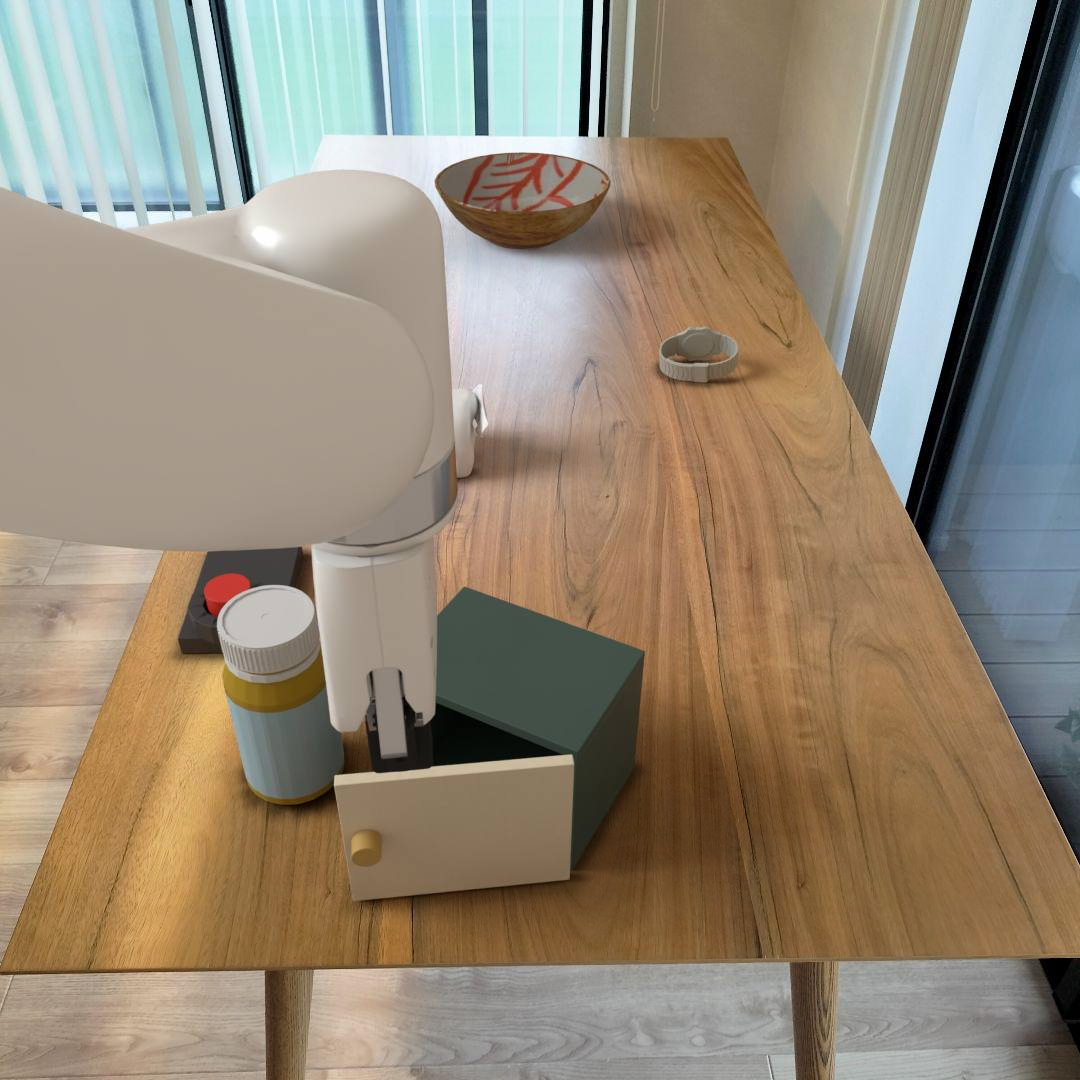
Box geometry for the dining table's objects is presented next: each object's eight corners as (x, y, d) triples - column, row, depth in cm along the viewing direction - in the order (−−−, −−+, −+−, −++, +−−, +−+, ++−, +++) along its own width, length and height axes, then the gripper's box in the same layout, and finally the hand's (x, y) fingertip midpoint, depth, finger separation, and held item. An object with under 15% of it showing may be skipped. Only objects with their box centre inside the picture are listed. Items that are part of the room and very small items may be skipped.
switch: (279, 658, 87) (273, 626, 85) (179, 660, 87) (170, 628, 85) (303, 553, 98) (298, 522, 96) (214, 555, 98) (207, 523, 96)
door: (572, 898, 69) (578, 782, 62) (352, 920, 68) (333, 804, 61) (568, 869, 71) (572, 753, 64) (353, 890, 70) (334, 774, 63)
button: (249, 618, 86) (245, 601, 85) (203, 619, 86) (199, 602, 85) (256, 589, 89) (253, 573, 88) (212, 590, 89) (209, 573, 88)
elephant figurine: (489, 427, 116) (487, 353, 110) (489, 491, 106) (487, 413, 101) (399, 429, 115) (393, 354, 110) (392, 493, 106) (385, 415, 100)
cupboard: (572, 870, 71) (577, 752, 64) (396, 790, 76) (383, 673, 69) (634, 767, 78) (645, 650, 71) (469, 701, 84) (464, 585, 76)
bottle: (314, 721, 82) (287, 566, 73) (364, 777, 77) (342, 620, 68) (230, 766, 78) (190, 609, 69) (277, 827, 74) (241, 669, 65)
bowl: (628, 261, 151) (631, 205, 146) (450, 275, 147) (448, 218, 142) (584, 198, 171) (586, 147, 166) (426, 209, 166) (423, 157, 162)
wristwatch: (735, 361, 128) (740, 322, 125) (737, 387, 123) (742, 347, 120) (657, 357, 129) (660, 318, 126) (657, 383, 124) (660, 343, 121)
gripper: (290, 392, 52) (335, 666, 63) (266, 597, 40) (327, 888, 51) (447, 383, 52) (464, 655, 64) (468, 581, 41) (484, 872, 52)
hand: (403, 759), depth 57 cm, fingers closed
